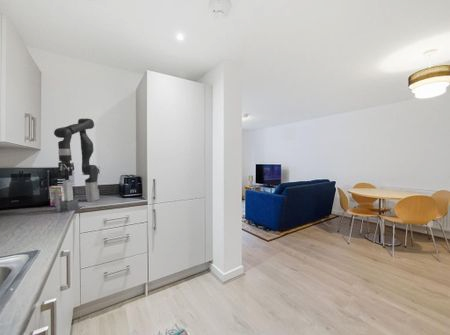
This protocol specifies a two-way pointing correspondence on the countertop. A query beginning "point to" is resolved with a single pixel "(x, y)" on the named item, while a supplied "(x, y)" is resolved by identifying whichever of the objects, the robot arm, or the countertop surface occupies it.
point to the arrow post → (57, 201)
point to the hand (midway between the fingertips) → (66, 175)
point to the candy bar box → (51, 192)
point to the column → (68, 190)
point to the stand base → (69, 206)
